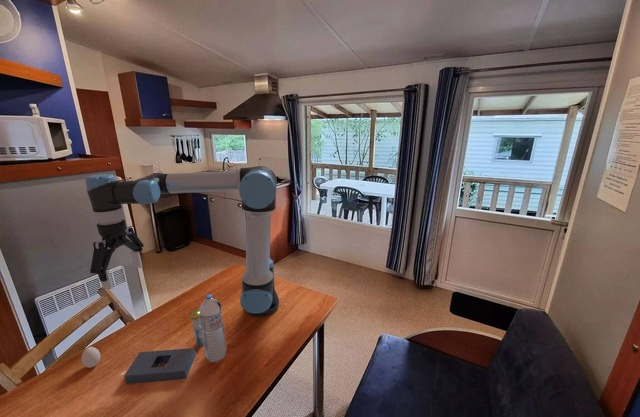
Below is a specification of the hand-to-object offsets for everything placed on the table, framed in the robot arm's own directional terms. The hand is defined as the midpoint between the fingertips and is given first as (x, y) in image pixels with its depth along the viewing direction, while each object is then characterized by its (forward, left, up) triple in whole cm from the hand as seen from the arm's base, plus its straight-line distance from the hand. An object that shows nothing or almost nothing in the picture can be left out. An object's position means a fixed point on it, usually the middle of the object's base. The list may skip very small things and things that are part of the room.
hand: (124, 277), depth 92 cm
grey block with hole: (-16, +16, -26) cm, 35 cm away
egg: (+8, +12, -27) cm, 30 cm away
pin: (-25, +6, -26) cm, 37 cm away
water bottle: (-32, +12, -27) cm, 43 cm away
